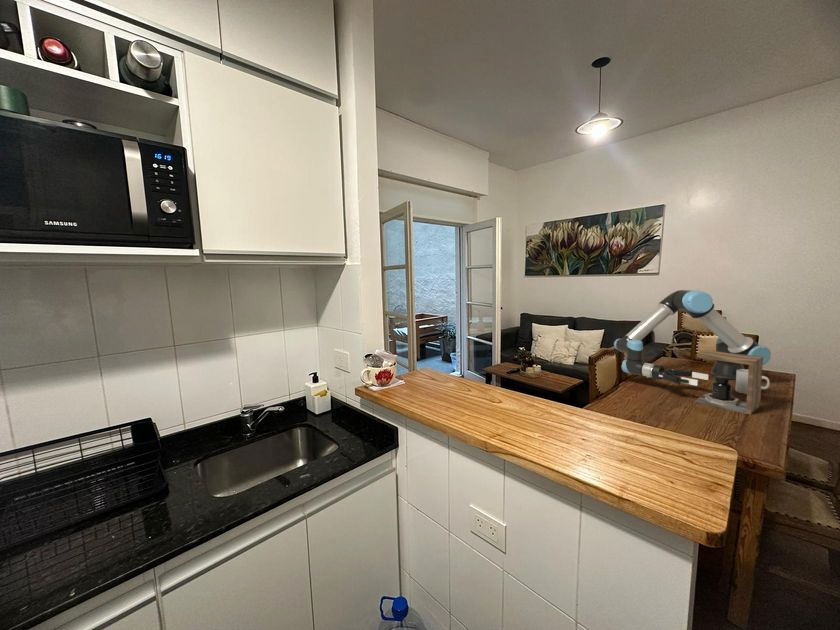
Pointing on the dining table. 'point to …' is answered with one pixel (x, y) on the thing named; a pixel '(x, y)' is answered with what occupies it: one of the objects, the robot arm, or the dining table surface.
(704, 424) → the dining table surface
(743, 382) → the mug
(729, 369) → the robot arm
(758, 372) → the awning stand
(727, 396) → the supplement bottle
